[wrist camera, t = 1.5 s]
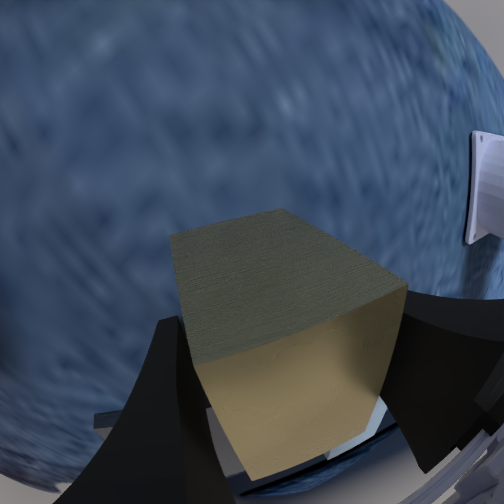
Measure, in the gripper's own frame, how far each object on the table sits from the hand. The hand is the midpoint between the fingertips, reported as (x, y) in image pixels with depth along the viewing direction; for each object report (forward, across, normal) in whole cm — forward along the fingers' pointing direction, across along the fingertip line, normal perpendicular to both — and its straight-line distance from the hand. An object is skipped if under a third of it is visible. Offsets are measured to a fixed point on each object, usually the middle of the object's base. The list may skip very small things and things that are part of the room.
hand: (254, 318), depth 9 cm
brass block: (+2, 0, 0) cm, 2 cm away
